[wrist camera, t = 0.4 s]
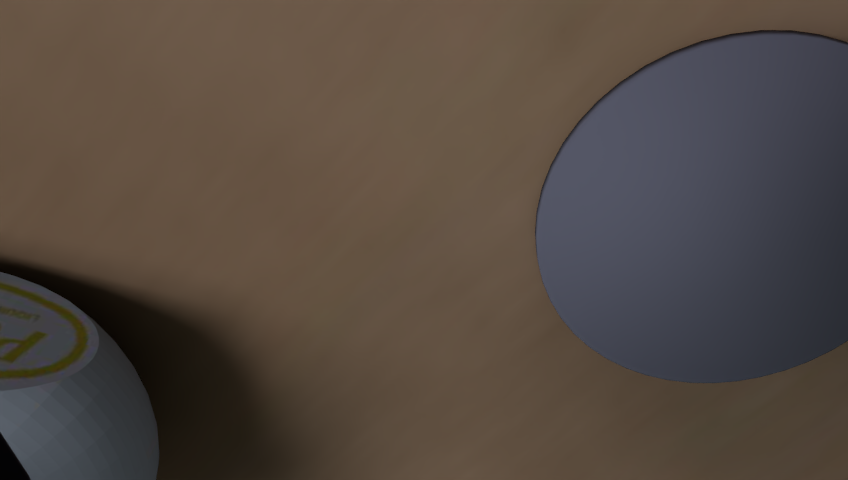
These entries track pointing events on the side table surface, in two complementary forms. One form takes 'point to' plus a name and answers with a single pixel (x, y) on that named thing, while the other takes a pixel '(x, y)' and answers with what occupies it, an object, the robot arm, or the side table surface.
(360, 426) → the side table surface
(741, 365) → the coaster
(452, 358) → the side table surface
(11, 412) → the air freshener
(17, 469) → the robot arm
